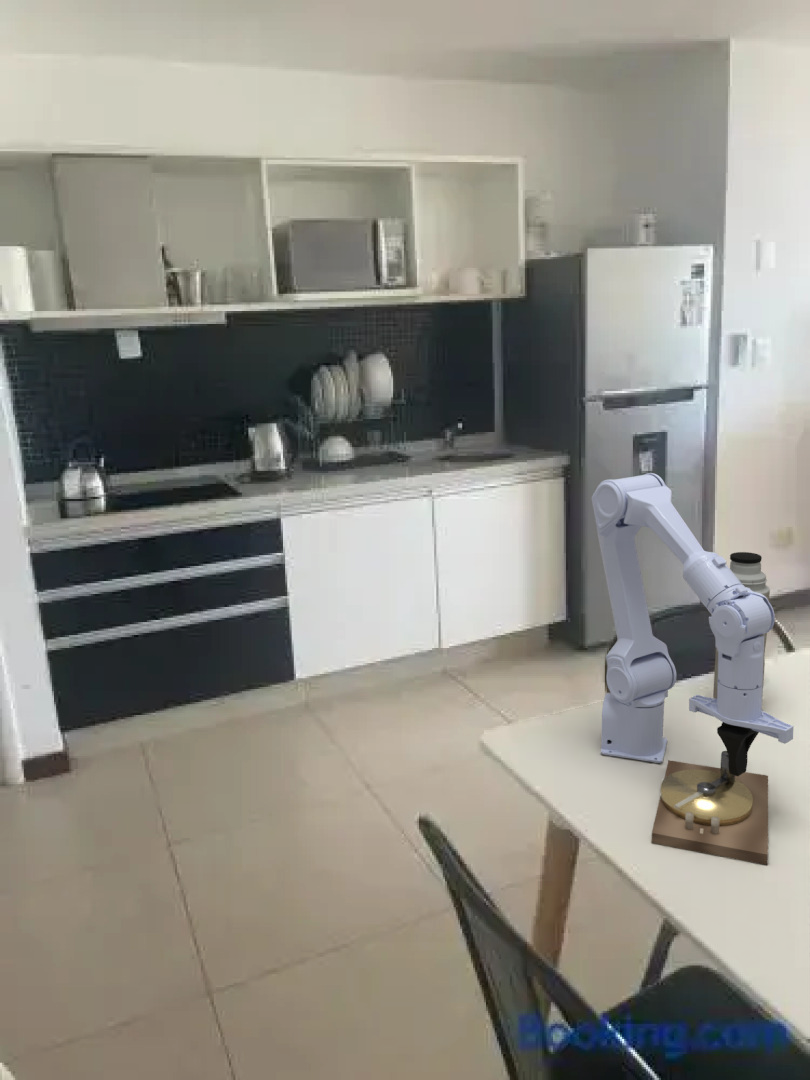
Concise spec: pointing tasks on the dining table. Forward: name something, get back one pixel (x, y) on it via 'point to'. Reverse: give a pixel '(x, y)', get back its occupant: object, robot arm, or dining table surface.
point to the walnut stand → (713, 839)
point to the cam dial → (707, 795)
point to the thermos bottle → (751, 577)
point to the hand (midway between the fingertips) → (737, 772)
